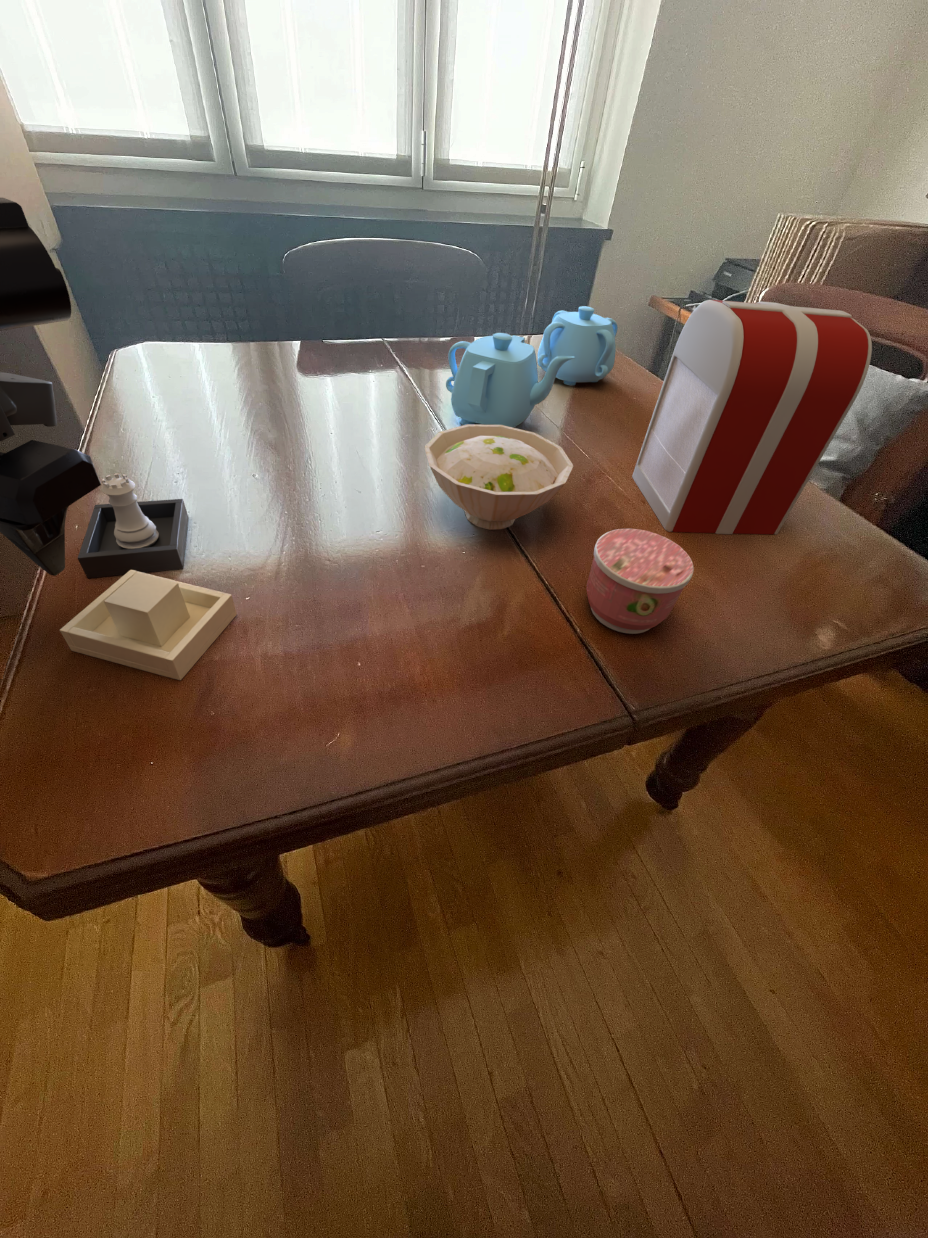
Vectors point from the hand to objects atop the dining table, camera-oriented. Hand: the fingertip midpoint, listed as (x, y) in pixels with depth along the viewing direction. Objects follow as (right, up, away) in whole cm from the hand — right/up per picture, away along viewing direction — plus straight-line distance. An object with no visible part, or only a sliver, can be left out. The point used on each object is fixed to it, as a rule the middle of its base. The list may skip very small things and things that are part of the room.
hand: (7, 559), depth 43 cm
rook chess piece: (-2, +4, +21) cm, 22 cm away
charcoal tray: (-2, +4, +21) cm, 22 cm away
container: (+54, -4, +21) cm, 59 cm away
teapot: (+42, +31, +56) cm, 77 cm away
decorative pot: (+60, +49, +77) cm, 109 cm away
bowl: (+40, +10, +33) cm, 53 cm away
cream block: (+5, -5, +11) cm, 14 cm away
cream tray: (+5, -6, +12) cm, 14 cm away
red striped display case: (+72, +13, +41) cm, 84 cm away
